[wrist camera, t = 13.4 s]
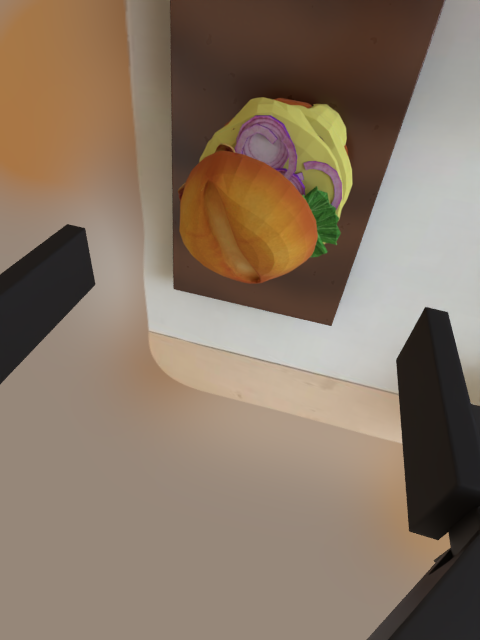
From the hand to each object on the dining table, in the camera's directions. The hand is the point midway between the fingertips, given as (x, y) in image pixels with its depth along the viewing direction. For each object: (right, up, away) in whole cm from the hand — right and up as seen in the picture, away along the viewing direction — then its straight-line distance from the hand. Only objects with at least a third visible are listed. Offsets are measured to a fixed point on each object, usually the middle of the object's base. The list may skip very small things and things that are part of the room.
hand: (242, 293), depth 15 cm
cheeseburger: (+3, +9, +13) cm, 16 cm away
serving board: (+3, +10, +14) cm, 17 cm away
